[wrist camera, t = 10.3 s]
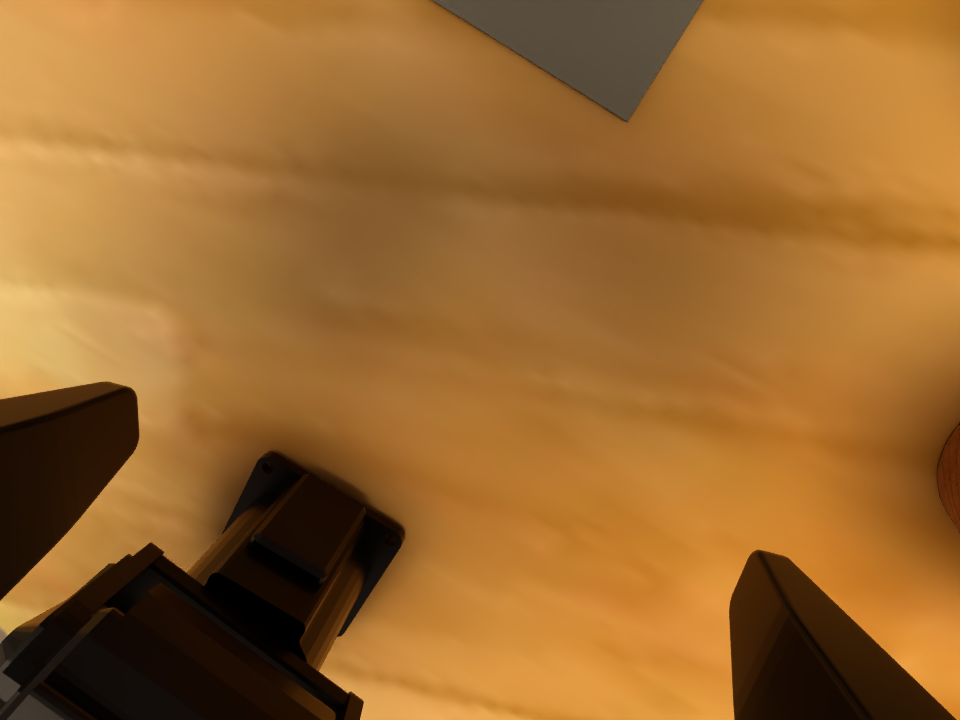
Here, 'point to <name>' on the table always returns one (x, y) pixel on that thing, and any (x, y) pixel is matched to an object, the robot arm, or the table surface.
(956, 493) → the disposable coffee cup
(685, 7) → the charcoal mat
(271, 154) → the table surface
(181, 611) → the robot arm
